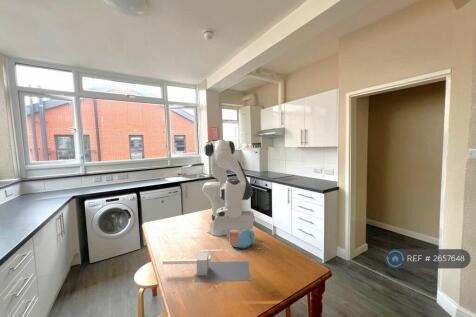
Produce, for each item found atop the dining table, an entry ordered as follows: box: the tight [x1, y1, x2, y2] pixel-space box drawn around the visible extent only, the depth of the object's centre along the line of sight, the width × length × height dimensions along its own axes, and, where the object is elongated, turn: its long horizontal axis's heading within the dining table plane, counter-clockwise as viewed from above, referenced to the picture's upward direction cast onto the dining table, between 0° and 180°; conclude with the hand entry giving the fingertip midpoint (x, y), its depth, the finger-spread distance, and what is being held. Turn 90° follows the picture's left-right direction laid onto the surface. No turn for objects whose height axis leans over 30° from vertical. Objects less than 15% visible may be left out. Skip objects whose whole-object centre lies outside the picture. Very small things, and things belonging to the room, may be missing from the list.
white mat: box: [199, 248, 224, 253], centre depth 114 cm, size 13×14×1 cm
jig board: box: [193, 252, 251, 283], centre depth 99 cm, size 16×27×9 cm, turn 91°
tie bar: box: [162, 254, 212, 265], centre depth 98 cm, size 3×24×3 cm, turn 91°
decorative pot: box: [228, 229, 256, 250], centre depth 128 cm, size 16×16×14 cm
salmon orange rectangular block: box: [229, 230, 238, 246], centre depth 98 cm, size 10×4×4 cm, turn 1°
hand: (233, 237), depth 98 cm, fingers closed on salmon orange rectangular block, 4 cm apart
